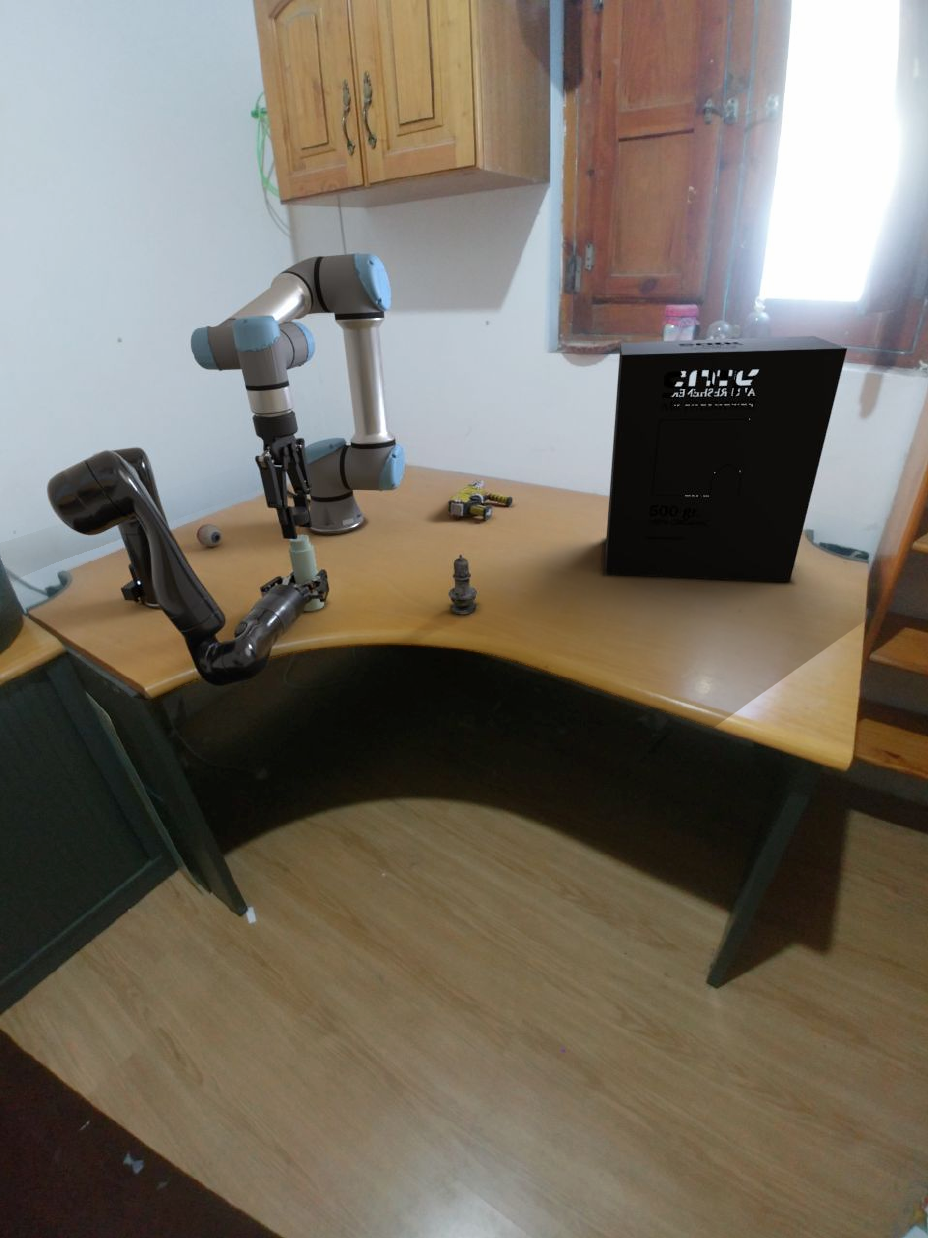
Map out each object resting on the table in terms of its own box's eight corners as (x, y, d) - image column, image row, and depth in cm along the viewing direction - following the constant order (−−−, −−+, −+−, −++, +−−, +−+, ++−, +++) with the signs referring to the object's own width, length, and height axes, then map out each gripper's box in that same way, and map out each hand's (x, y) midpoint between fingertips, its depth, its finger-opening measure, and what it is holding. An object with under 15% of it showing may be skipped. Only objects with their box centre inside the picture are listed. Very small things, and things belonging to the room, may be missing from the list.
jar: (317, 598, 131) (304, 531, 124) (328, 606, 128) (315, 537, 120) (297, 605, 129) (282, 538, 121) (307, 613, 125) (292, 544, 118)
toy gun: (520, 484, 182) (474, 477, 186) (498, 508, 162) (446, 499, 166) (519, 500, 184) (473, 492, 188) (497, 524, 164) (445, 516, 168)
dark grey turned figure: (475, 615, 121) (472, 561, 115) (446, 614, 122) (442, 560, 116) (480, 601, 126) (478, 548, 120) (452, 600, 127) (449, 547, 121)
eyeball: (210, 552, 157) (204, 530, 154) (195, 548, 160) (189, 526, 157) (229, 544, 161) (224, 522, 158) (214, 540, 164) (208, 519, 161)
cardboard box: (768, 543, 143) (813, 335, 121) (789, 582, 126) (847, 348, 104) (606, 538, 151) (620, 342, 128) (605, 574, 134) (622, 354, 111)
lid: (281, 528, 116) (279, 516, 115) (282, 518, 121) (280, 507, 120) (309, 524, 117) (307, 513, 116) (309, 515, 122) (307, 504, 121)
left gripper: (308, 596, 110) (341, 557, 124) (236, 593, 112) (277, 555, 127) (315, 631, 114) (346, 589, 128) (245, 627, 116) (284, 587, 131)
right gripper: (281, 401, 117) (304, 514, 129) (224, 424, 102) (256, 549, 114) (316, 401, 115) (336, 516, 127) (263, 424, 100) (291, 552, 112)
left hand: (311, 572), depth 127 cm, fingers closed on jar, 5 cm apart
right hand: (298, 532), depth 120 cm, fingers closed on lid, 5 cm apart
